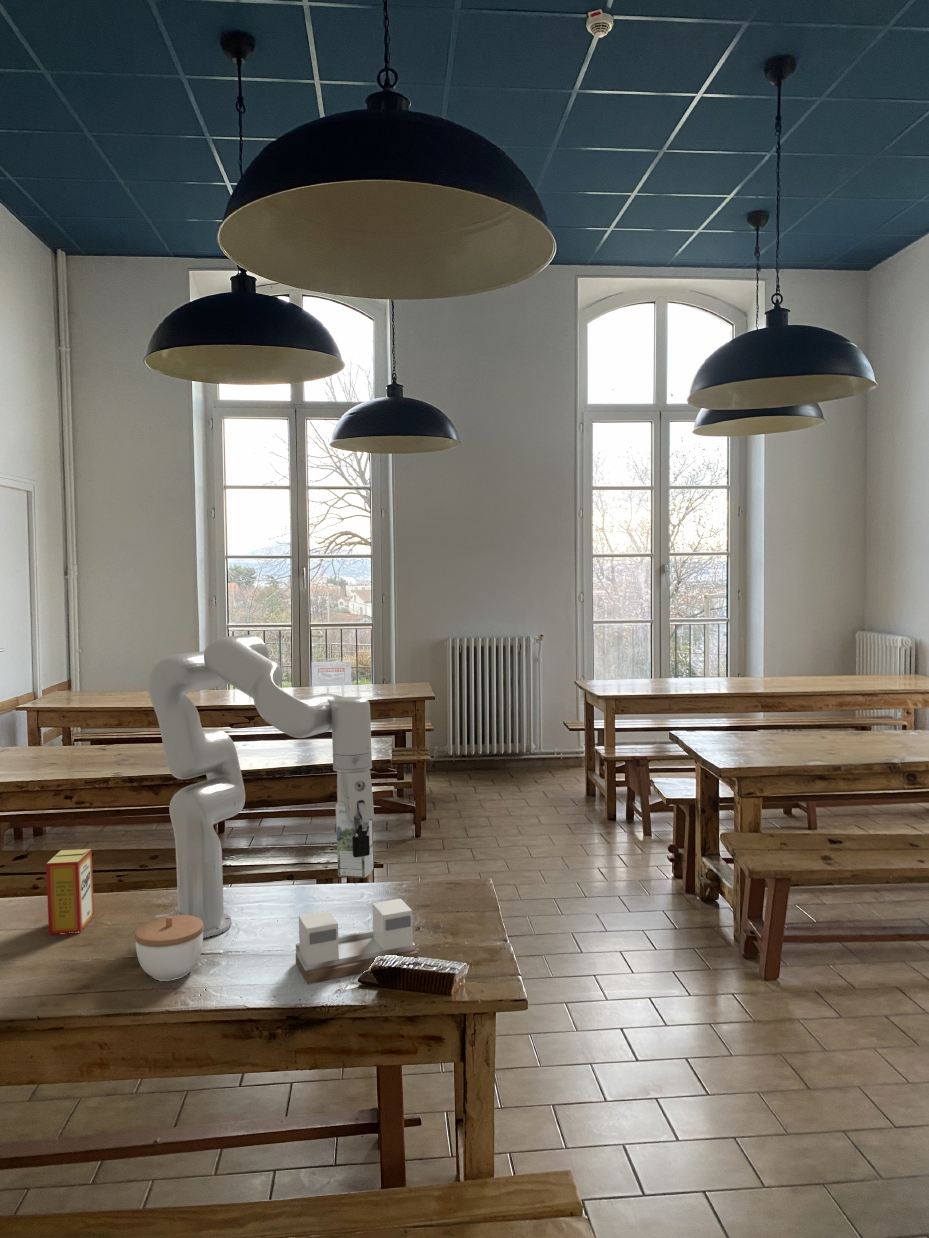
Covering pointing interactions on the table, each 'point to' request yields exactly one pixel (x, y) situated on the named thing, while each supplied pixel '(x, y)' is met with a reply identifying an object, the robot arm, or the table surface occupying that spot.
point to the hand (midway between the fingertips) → (355, 849)
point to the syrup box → (350, 847)
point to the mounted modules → (323, 931)
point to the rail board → (349, 958)
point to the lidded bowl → (169, 945)
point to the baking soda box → (70, 890)
